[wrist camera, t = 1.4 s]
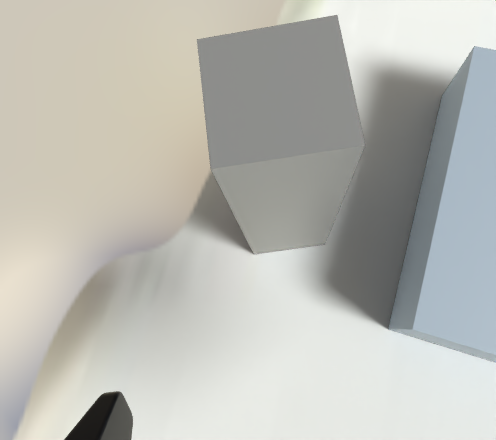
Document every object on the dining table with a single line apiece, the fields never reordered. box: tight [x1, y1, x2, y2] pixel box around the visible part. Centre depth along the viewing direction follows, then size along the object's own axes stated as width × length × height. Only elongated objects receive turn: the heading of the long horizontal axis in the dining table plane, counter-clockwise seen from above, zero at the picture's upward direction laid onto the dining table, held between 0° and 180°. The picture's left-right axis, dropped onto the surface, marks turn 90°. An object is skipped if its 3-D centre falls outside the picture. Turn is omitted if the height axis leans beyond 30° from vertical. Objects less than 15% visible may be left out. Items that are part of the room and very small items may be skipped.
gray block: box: [197, 15, 365, 254], centre depth 17 cm, size 4×4×13 cm
